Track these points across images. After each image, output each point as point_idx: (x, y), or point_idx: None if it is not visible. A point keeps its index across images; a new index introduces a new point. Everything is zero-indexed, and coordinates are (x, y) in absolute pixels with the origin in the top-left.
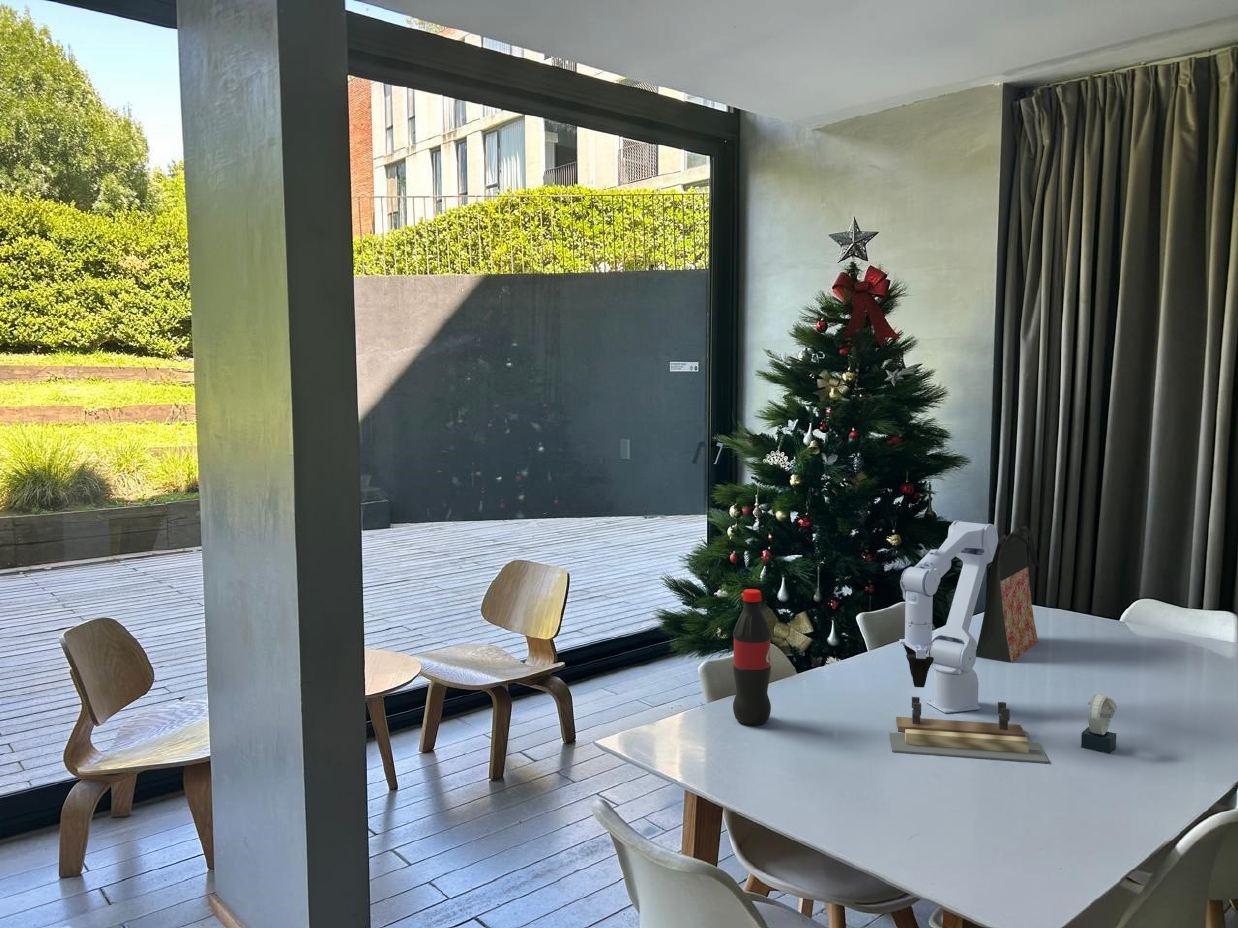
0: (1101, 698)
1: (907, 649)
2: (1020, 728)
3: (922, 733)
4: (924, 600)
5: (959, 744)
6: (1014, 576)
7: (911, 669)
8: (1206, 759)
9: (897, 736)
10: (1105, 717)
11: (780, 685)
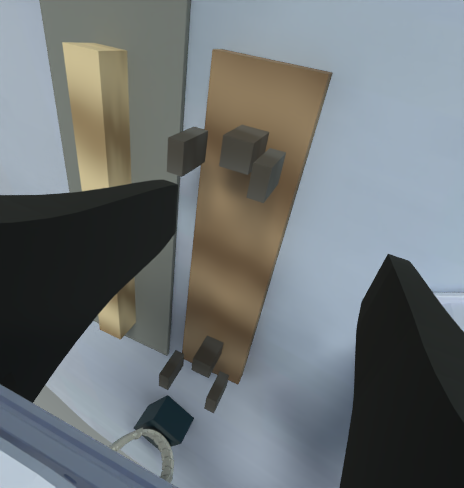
0: None
1: (448, 450)
2: (215, 371)
3: (75, 108)
4: None
5: None
6: None
7: (36, 195)
8: (152, 464)
9: (152, 27)
10: (165, 475)
11: None
